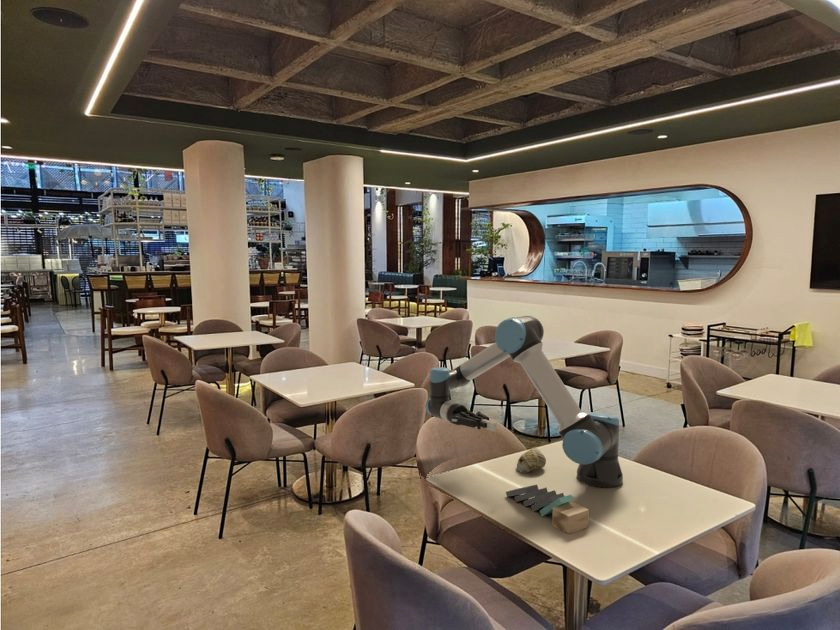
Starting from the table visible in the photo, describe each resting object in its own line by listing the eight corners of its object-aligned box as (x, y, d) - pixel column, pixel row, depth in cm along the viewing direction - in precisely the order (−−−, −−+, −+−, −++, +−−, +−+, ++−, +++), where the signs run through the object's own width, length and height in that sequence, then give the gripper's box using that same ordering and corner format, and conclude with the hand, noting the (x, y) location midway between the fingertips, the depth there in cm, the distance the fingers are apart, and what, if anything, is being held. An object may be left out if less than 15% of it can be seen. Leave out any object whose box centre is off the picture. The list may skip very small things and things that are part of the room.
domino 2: (514, 496, 167) (534, 490, 160) (526, 493, 170) (546, 487, 162) (516, 501, 167) (535, 496, 159) (528, 498, 170) (548, 492, 162)
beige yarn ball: (513, 471, 191) (515, 442, 195) (519, 474, 199) (521, 447, 203) (542, 473, 187) (543, 444, 191) (546, 477, 195) (548, 449, 199)
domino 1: (505, 491, 171) (525, 487, 163) (517, 488, 174) (537, 484, 166) (507, 496, 171) (526, 493, 163) (518, 493, 173) (538, 489, 165)
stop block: (552, 525, 152) (552, 508, 151) (572, 518, 156) (572, 501, 156) (568, 533, 147) (568, 516, 146) (588, 526, 151) (588, 509, 150)
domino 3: (522, 501, 164) (542, 493, 157) (534, 497, 167) (555, 490, 159) (524, 506, 164) (544, 499, 156) (536, 503, 166) (557, 495, 159)
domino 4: (530, 505, 161) (550, 496, 154) (542, 502, 164) (563, 492, 156) (532, 511, 160) (552, 501, 153) (545, 507, 163) (565, 498, 156)
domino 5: (539, 510, 158) (558, 498, 151) (551, 506, 161) (571, 494, 154) (542, 516, 157) (561, 503, 150) (554, 512, 160) (573, 499, 153)
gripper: (468, 420, 204) (509, 435, 184) (440, 425, 197) (479, 441, 177) (468, 400, 203) (509, 413, 183) (439, 405, 196) (479, 419, 176)
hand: (495, 427), depth 180 cm, fingers closed
